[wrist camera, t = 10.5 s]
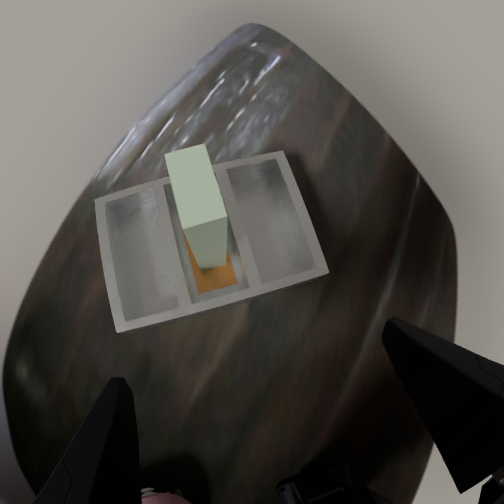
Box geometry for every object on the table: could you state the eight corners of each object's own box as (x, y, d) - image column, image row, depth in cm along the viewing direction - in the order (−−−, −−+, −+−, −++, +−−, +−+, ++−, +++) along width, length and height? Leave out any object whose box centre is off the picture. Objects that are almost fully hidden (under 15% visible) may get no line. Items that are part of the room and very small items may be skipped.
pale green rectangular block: (226, 264, 22) (227, 216, 13) (201, 271, 22) (182, 229, 12) (211, 216, 23) (204, 143, 13) (187, 223, 23) (164, 154, 13)
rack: (313, 281, 23) (329, 272, 20) (133, 332, 21) (116, 332, 17) (274, 170, 26) (281, 147, 22) (110, 213, 23) (94, 195, 20)
